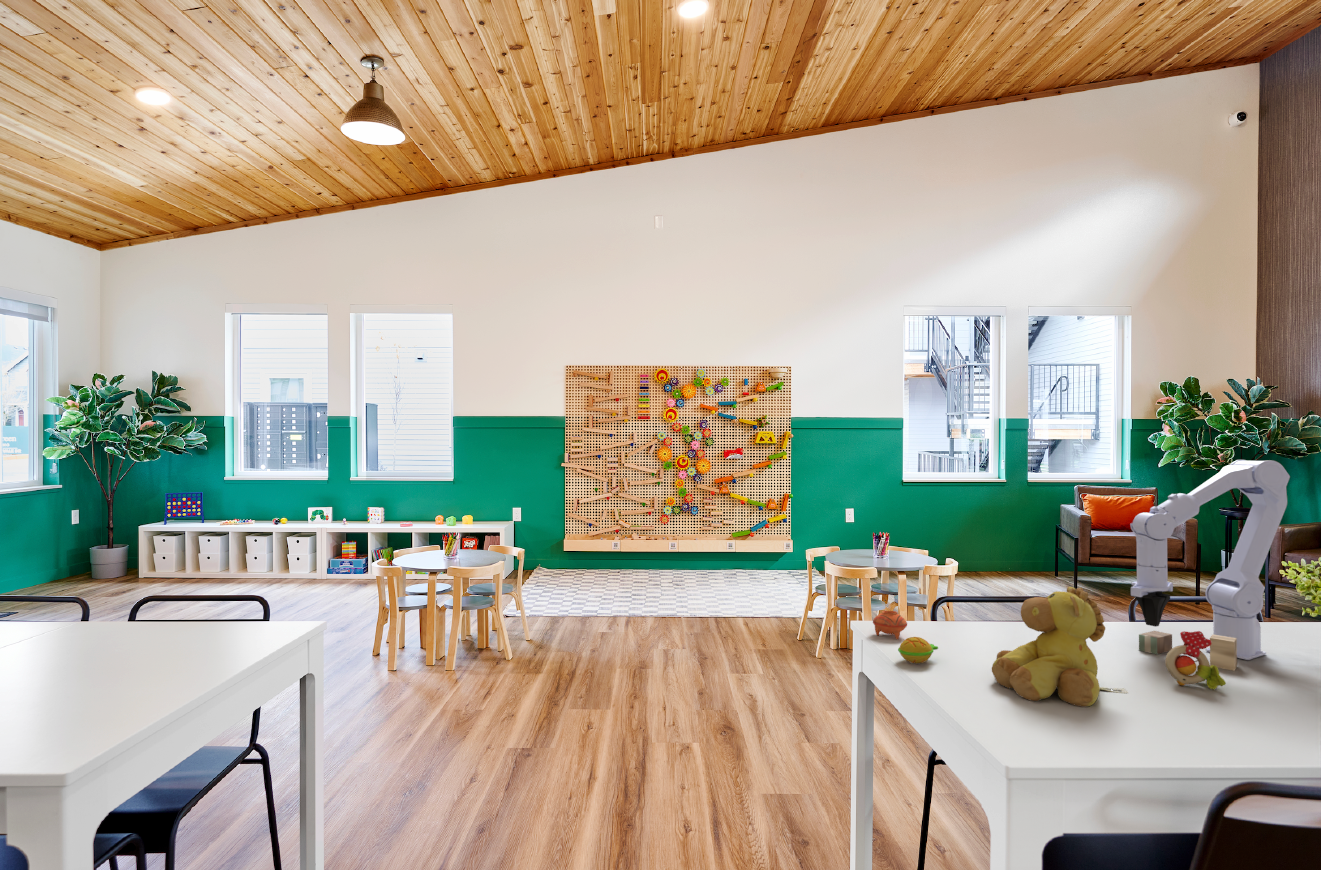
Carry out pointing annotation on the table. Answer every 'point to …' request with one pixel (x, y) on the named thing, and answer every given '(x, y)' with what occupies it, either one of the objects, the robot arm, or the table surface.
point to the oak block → (1223, 652)
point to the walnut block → (1155, 642)
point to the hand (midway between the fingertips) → (1152, 625)
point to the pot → (889, 623)
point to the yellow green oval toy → (916, 650)
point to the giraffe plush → (1056, 650)
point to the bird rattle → (1192, 662)
